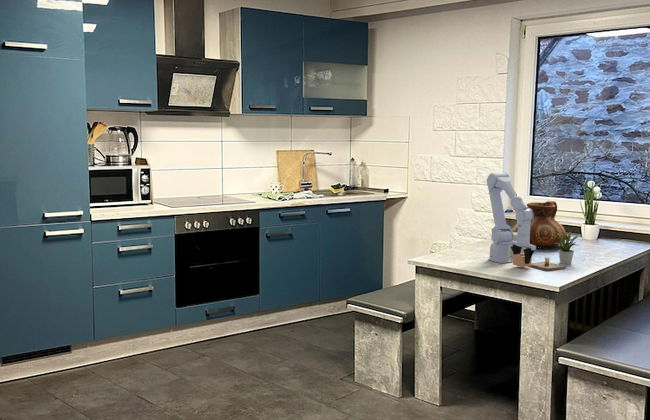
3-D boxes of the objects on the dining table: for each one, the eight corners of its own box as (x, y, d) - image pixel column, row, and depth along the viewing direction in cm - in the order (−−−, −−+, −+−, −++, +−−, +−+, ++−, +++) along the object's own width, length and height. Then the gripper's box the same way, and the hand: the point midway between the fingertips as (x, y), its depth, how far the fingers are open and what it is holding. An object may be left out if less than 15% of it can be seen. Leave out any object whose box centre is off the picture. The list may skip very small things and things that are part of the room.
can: (521, 258, 337) (522, 234, 336) (504, 255, 343) (505, 232, 342) (529, 255, 344) (530, 232, 342) (512, 253, 350) (513, 230, 349)
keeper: (528, 266, 318) (528, 256, 317) (546, 263, 324) (546, 254, 323) (547, 271, 307) (547, 261, 307) (565, 268, 313) (566, 259, 312)
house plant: (585, 267, 317) (587, 233, 314) (554, 266, 319) (556, 232, 317) (579, 261, 330) (581, 229, 328) (550, 260, 333) (552, 228, 331)
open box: (512, 264, 316) (513, 254, 315) (522, 263, 319) (522, 253, 318) (521, 267, 311) (522, 256, 310) (531, 265, 313) (531, 255, 313)
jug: (559, 252, 352) (561, 206, 348) (503, 246, 367) (505, 202, 364) (570, 244, 377) (573, 201, 374) (518, 239, 393) (520, 197, 389)
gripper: (506, 232, 317) (505, 260, 319) (528, 237, 304) (527, 266, 306) (517, 231, 320) (515, 258, 322) (539, 236, 308) (538, 264, 310)
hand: (522, 262), depth 314 cm, fingers closed on open box, 6 cm apart
